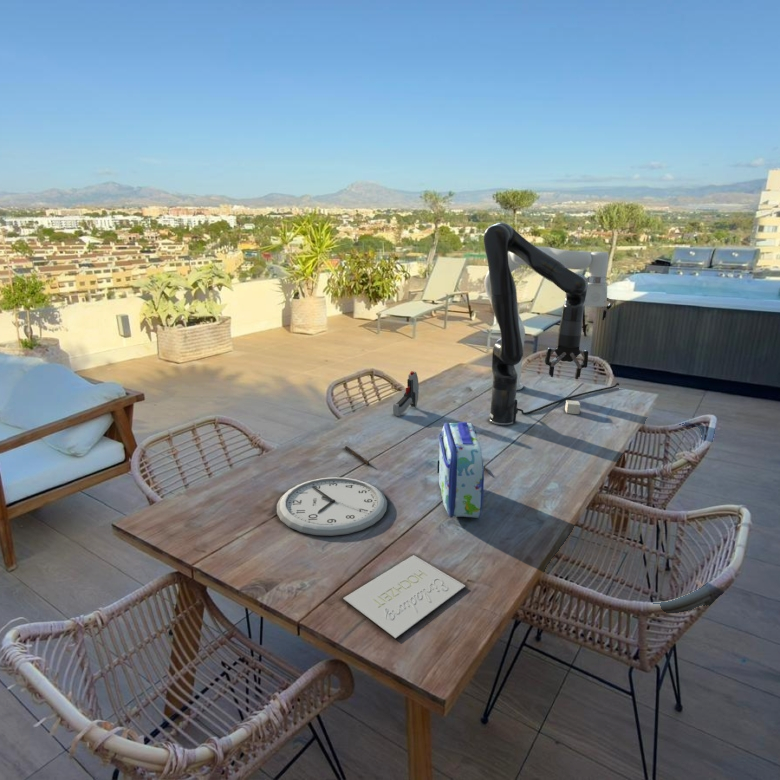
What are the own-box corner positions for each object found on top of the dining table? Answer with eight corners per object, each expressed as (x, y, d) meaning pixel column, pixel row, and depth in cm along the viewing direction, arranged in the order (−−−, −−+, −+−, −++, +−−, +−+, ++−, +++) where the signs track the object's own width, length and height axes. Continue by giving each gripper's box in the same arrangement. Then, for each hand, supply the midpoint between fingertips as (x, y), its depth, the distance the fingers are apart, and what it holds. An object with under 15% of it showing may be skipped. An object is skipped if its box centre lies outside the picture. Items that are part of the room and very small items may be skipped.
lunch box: (435, 478, 159) (438, 413, 153) (470, 478, 159) (475, 414, 153) (442, 524, 134) (446, 449, 128) (484, 525, 134) (490, 450, 128)
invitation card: (413, 554, 121) (465, 585, 111) (413, 555, 121) (465, 586, 111) (343, 597, 107) (395, 637, 97) (343, 598, 107) (395, 638, 97)
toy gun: (392, 379, 206) (413, 369, 217) (393, 417, 212) (414, 405, 223) (397, 380, 205) (418, 370, 216) (398, 418, 210) (418, 406, 222)
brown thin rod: (344, 448, 179) (344, 445, 179) (346, 448, 179) (346, 445, 179) (367, 464, 167) (367, 462, 167) (368, 464, 167) (368, 461, 167)
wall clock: (392, 527, 129) (268, 531, 127) (391, 533, 130) (269, 537, 127) (383, 473, 158) (282, 475, 155) (383, 478, 158) (282, 480, 156)
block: (566, 413, 218) (567, 403, 216) (564, 409, 222) (566, 400, 221) (579, 414, 217) (580, 404, 215) (577, 410, 222) (578, 400, 220)
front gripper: (550, 333, 180) (544, 378, 185) (593, 336, 178) (586, 381, 182) (547, 329, 187) (542, 373, 192) (589, 332, 185) (582, 376, 190)
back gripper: (577, 280, 229) (572, 319, 234) (619, 282, 226) (613, 321, 231) (574, 279, 236) (570, 316, 241) (615, 280, 233) (609, 318, 238)
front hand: (564, 377), depth 187 cm, fingers open, 8 cm apart
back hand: (591, 319), depth 236 cm, fingers open, 9 cm apart
